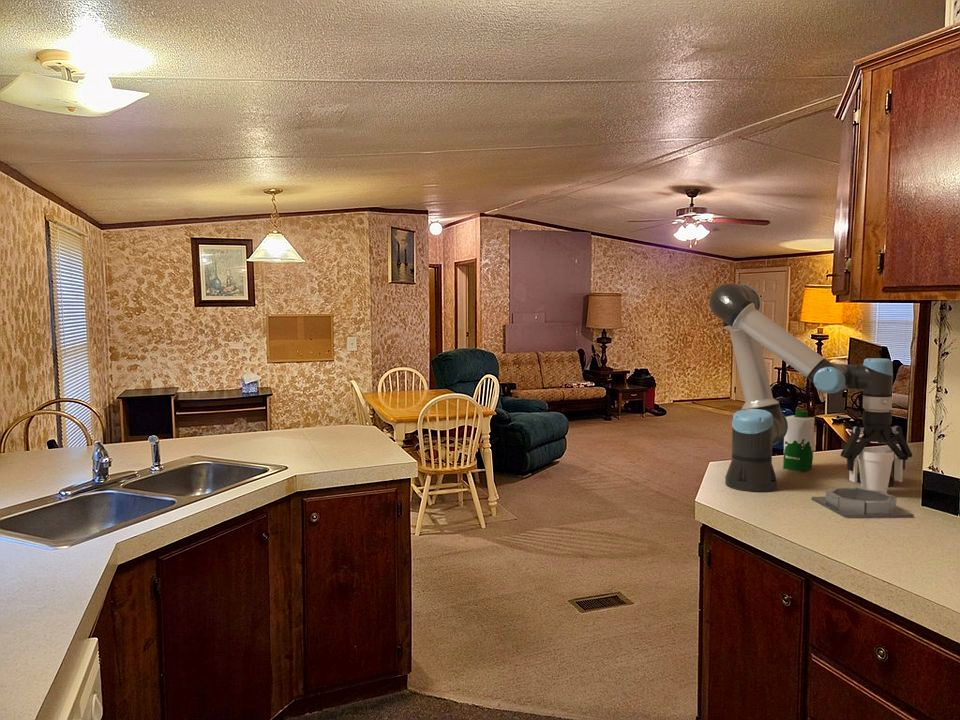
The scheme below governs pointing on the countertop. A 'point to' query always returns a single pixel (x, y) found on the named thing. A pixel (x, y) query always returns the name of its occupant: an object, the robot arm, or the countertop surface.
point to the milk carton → (799, 442)
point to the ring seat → (861, 503)
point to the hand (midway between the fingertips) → (875, 481)
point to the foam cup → (875, 468)
